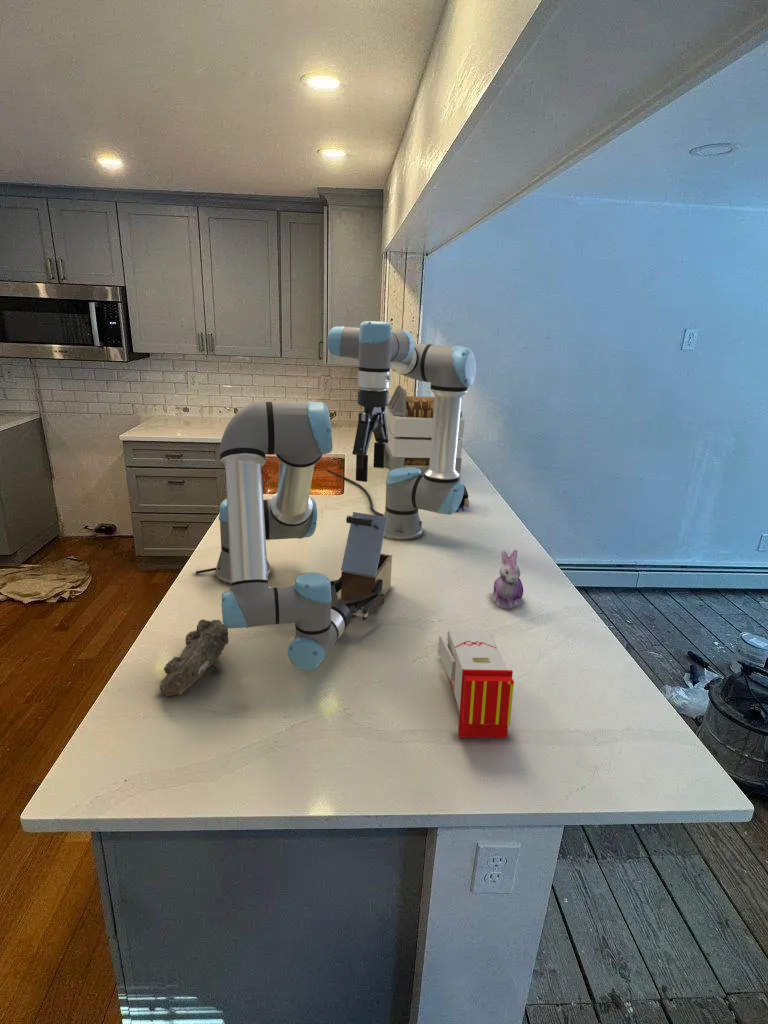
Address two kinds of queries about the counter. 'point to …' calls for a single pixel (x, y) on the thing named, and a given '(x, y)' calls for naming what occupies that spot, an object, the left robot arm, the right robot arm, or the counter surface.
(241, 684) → the counter surface
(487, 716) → the toy
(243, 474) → the left robot arm
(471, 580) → the counter surface
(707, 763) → the counter surface
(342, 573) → the chest
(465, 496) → the figurine character
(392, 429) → the white slatted crate
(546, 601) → the counter surface
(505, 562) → the figurine
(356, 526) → the lid
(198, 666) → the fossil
